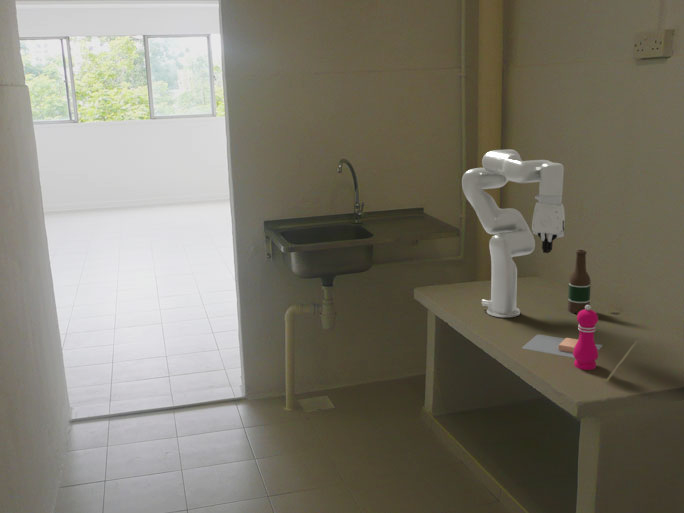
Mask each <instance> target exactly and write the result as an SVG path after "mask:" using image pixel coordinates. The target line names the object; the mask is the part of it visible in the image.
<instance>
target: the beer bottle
mask: <svg viewBox="0 0 684 513" xmlns="http://www.w3.org/2000/svg"><path fill="white" fill-rule="evenodd" d="M575 253H576V257H575V258H576V259H575V266H574V271H573V272H572V273H571V274H570V276H569V279H568V280H569V281H568V298H567V299H568V300H567V306H568V307H567V311H568V312H569V313H571V314H575V313H576V315H578V313H579V312H580V311H581V310H584V309H585V306H586V305H590V302H591V299H590V298H591V277H590V275H589V274H588V272H587V265H586V264H587V263H586V261H587V258H586V255H587V253H588V252H587V250H584V249H578V250H576V252H575Z"/></svg>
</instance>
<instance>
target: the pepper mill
mask: <svg viewBox="0 0 684 513" xmlns="http://www.w3.org/2000/svg"><path fill="white" fill-rule="evenodd" d="M576 315H577V316H576V321H577V323H578V328H577V330H578V331H579V335H578V338H577V339H578V342H577V344H576V345H575V347H574V350H573V356H574V358H573V359H575V360H574V363H573V366H574V367H575V368H577V369H580V370H584V371H587V370H588V371H589V370H594V369H596V367H597V362H596V360H597V359H598V357H599V350H597V347H596V345H595V344H596V342H595V336H594V334H595V331H596V330H597V329H596V328H597V327H596V324H597V323H598V322H599V318H598V317H599V316H598V313H597V312H596V311H594V310H593V309H592V306H591V305H590V304H589V305H586V306H585V309H584V310H581V311H580V312H579V313H578V314H576Z"/></svg>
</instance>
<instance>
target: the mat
mask: <svg viewBox="0 0 684 513" xmlns="http://www.w3.org/2000/svg"><path fill="white" fill-rule="evenodd" d="M564 339H565V338H564V337H563V338H562V337H555V336H551V335H545V334H539V333H538V334H536V335H535V336H534V337H532V339H530V340H529V341H528V342H526V344H524V345H523V346H522V347H521V349H524V350H529V351H534V352H540V353H545V354H550V355H556V356H561V357H562V356H563V357H566V358H573V359H575V358H574V356H573V353H571V352H565V351H560V350H559V344H560V343H561V342H562V341H563V340H564ZM595 345H596V347H597V350H598V351H600V350H601V348H602V347H603V346H604V345H603V344H598V343H595Z"/></svg>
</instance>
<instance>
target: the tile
mask: <svg viewBox="0 0 684 513" xmlns="http://www.w3.org/2000/svg"><path fill="white" fill-rule="evenodd" d="M563 339H564V340H563V341H562V342H561V343H560V344H559V350H560V351H565V352H571V353H573V350H574V347H575V345H576V344H577V342H578V339H579V338H577V339H576V338H571V337H565V338H563Z"/></svg>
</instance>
